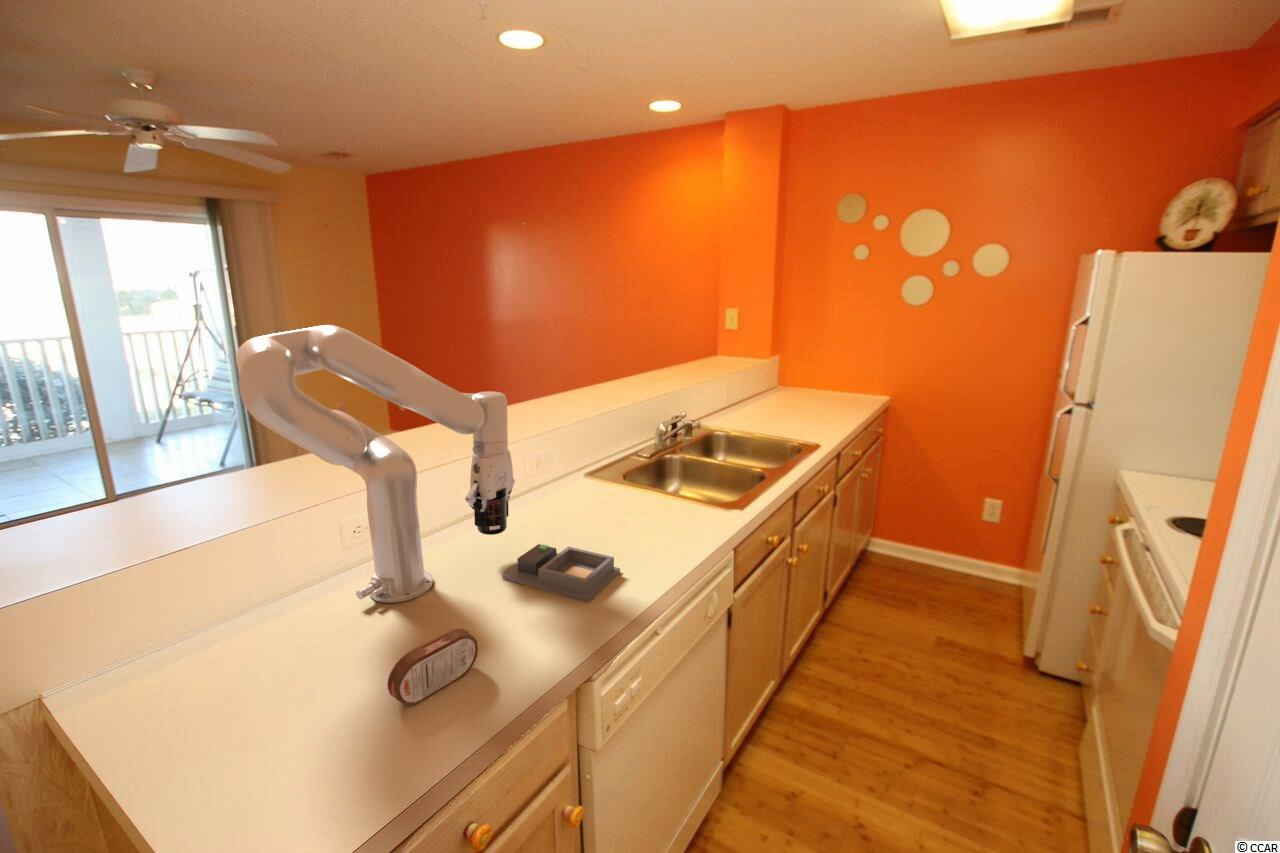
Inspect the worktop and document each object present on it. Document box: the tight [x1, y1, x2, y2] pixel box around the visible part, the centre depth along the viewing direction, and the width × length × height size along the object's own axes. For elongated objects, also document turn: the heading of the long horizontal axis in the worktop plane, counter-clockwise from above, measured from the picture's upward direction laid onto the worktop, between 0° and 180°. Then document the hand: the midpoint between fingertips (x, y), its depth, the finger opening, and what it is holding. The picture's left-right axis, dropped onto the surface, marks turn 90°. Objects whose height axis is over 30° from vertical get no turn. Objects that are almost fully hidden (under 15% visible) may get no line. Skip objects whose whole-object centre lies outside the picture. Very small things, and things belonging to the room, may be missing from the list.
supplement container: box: [476, 488, 508, 536], centre depth 134 cm, size 7×7×10 cm
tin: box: [387, 628, 479, 706], centre depth 94 cm, size 15×3×8 cm, turn 141°
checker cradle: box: [501, 543, 621, 603], centre depth 129 cm, size 14×22×5 cm, turn 64°
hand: (491, 520), depth 135 cm, fingers closed on supplement container, 6 cm apart
